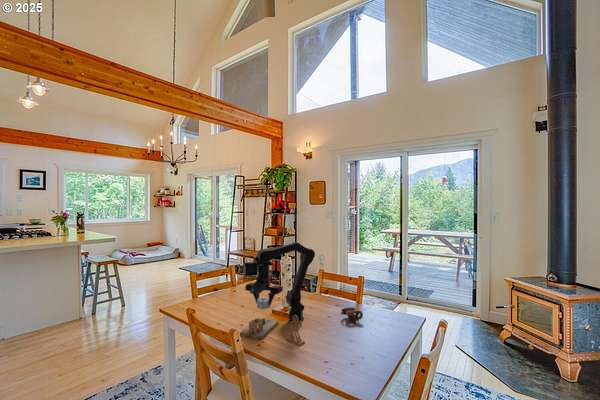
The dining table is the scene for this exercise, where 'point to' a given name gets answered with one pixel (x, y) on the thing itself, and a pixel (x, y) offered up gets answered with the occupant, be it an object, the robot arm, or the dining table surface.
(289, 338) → the gingerbread man figurine
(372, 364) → the dining table surface
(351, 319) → the pottery mug
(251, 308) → the dining table surface
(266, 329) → the gear board
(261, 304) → the loose gear
